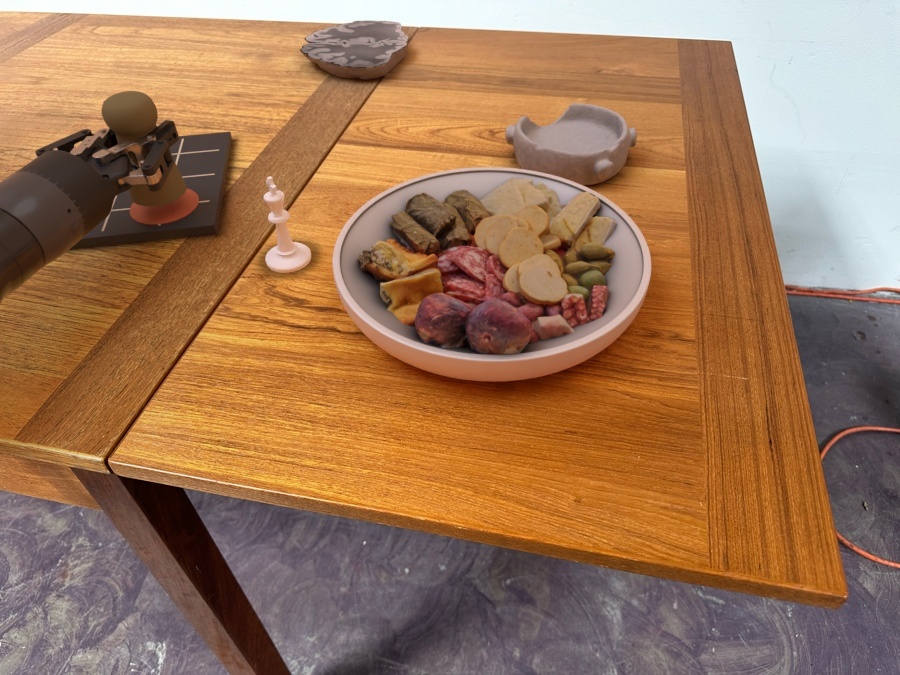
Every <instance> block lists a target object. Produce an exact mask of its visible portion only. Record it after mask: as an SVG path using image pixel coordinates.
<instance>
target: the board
mask: <svg viewBox="0 0 900 675" xmlns="http://www.w3.org/2000/svg"><path fill="white" fill-rule="evenodd" d="M232 145H233V137H232V132H231V131H223V132H222V131H221V132H210V133H199V134H187V135H179V140H178V141H177V142H176V143H175V144H173V145H172V146H171V147H170V151H171V154H172V157H173V159H174V161H175V163H176V165H177V167H178V170H179V172H180V174H181V176H182V178H183V180H184V182H185V184H186V186H187V188H186V191H185V193H184V194H183V195H182V196H181V197H180V198H178V199H177V200H175V201H173V202H171V203H167V204H164V205H160V206H141V205H137V204H135V203H134V202H133V201H132V200H131V198H130V193H129V190H127V191H125V192H122V193H120V194H118V195H116V197H115V199H114V202H113V205H112V209H111V212H110V214H109V215H108V217H107V218H105V219H104V220H103V221H102V222H101V223H99V224H98V225H97V226H96V227H95V228H94V229H92V230H91V231H90V232H89V233H88V234H87V235H85V236H84V237H83V238H82V239H81V240H79V241H78V242H77V243H76V244H75V245H74V246H72V247H71V248H70V249H69V250H77V249H88V248H97V247H105V246H106V247H107V246H116V245H126V244H135V243H145V242H146V243H147V242H155V241H163V240H164V241H165V240H174V239H181V238H182V239H183V238H192V237H203V236H212V235H218V232H219V225H220V219H221V212H222V206H223V200H224V195H225V189H226V182H227V176H228V170H229V163H230V159H231V158H230V157H231V151H232Z"/></svg>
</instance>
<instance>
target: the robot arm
mask: <svg viewBox="0 0 900 675" xmlns="http://www.w3.org/2000/svg"><path fill="white" fill-rule="evenodd" d="M179 136H180V134H179V132H178V130H177V126H176V123H175V121H173V120H170V119H165V120H164V121H162V122H160V123H159V125H157V127H156V128H155V129H154V130H152V131H151V132H149V133H148V134H147V135H146V136H144V137H142V138H140V139H138V140H136V141H135V142H132V141H129V140H126V141H124V142H122V143H120V144H118V143H117V139H116V135H115V132H113V131H112V130H111V129H109V128H106V127H105V128H104V127H103V128H100V129H98V130H97V131H96V132H95V133H93V132H92V130H91V129H90V128H85V129H84V128H83V129H80V130H79V131H77V132H74V133H71V134H69V135H67V136H65V137H62V138H61V139H58V140H56V141H54V142H53V141H52V142H51V143H49V144H46V145H44V146H42V147H40V148H38V149H35V151H34V153H35V156H36V158H34V159H33V160H31V161H29V162H28V163H27V164H25V165H24V166H22V167H20V168H19V169H18V170H16V171H15V172H13V173H12V174H11V175H9V176H8V177H6V178H4V179H3V180H1V181H0V304H1V303H2V302H3V300H5V299H6V298H7V297H9V296H10V295H12V294H13V293H14V292H15V291H17V290H18V289H19V288H20V287H22V286H23V285H24V284H25V283H27V282H28V281H30V279H31V278H32V277H33V276H35V275H36V274H37V273H38V272H39V271H41V270H42V269H43V268H44V267H46V266H48V265H49V264H51V263H53V262H54V261H56V260H57V259H59V258H61V257H62V256H63V255H64V254H66V253H67V252H68V251H69V250H71V249H70V248H71V247H72V246H74V245H75V244H76V243H77V242H78V241H79V240H81V239H82V238H83V237H84V236H85V235H87V234H88V233H89V232H90V231H91V230H92V229H94V228H95V227H96V226H97V225H98V224H99V223H101V222H102V221H103V220H104V219H105V218H107V217H108V215H109V214H110V212H111V209H112V205H113V202H114V199H115V197H116V195H118V194H120V193H122V192H125V191H127V190H129V189H130V188H131V187H132V186H133V185H136V184H147V186H148V188H149V191H152V192H155V191H158V190H160V189H161V188H162V186H163V184H164V182H165V180H166V179H167V177H168V175H169V173H170V171H171V169H172V167H173V165H174V160H173V157H172V154H171V151H170V147H171V146H172V145H173V144H175V143H176V142H177V141H178V140H179ZM78 143H80V144H79V145H78V146H75V145H76V144H78ZM144 148H147V151H148V155H147V156H146V157H144V158H143V156H142V153H141V151H142V149H144ZM126 153H128V155H129V157H128V155H127V154H126ZM129 158H130V159H129ZM130 160H131V161H130ZM131 163H132V164H131Z"/></svg>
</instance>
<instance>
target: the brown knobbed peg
mask: <svg viewBox="0 0 900 675" xmlns="http://www.w3.org/2000/svg"><path fill="white" fill-rule="evenodd" d="M101 116H102V119H103V121H104V123H105V124H106V126H107V127H108V129H111V130H112V131H113V132H115V135H116V139H117V143H118V144H120V143H122V142H124V141H126V140H129V141H132V142H135V141H136V140H138V139H140V138H142V137H144V136H146V135H147V134H148V133H149V132H151V131H152V130H154V129H155V128H156V127H157V126H158V124H157V122H158V118H159V117H158V116H159V114H158V109H157V105H156V103H155V102H154V101H153V99H152V98H151V97H150V96H149V95H148V94H146V93H145V92H143V91H137V90H126V91H121V92H117V93H114V94H112V95H110V96H108V97H106V99H105V100H104V101H103V102H102V106H101ZM141 153H142V156H143V158H144V157H146V156H147V155H148V151H147V148H144V149H142V151H141ZM126 154H127V155H128V153H126ZM128 157H129V155H128ZM129 159H130V158H129ZM173 160H174V159H173ZM130 161H131V160H130ZM131 164H132V163H131ZM186 188H187V186H186V184H185V182H184V180H183V178H182V176H181V174H180V172H179V170H178V167H177V165H176V163H175V161H174V165H173V167H172V169H171V171H170V173H169V175H168V177H167V179H166V180H165V182H164V184H163V186H162V188H161V189H160V190H158V191H155V192H152V191H149V188H148V186H147V184H136V185H133V186H132V187H131V188H130V189H129V193H130V198H131V200H132V201H133V202H134V203H135V204H137V205H141V206H160V205H164V204H167V203H171V202H173V201H175V200H177V199H178V198H180V197H181V196H182V195H183V194H184V193H185V191H186Z"/></svg>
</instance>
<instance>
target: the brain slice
mask: <svg viewBox="0 0 900 675" xmlns="http://www.w3.org/2000/svg"><path fill="white" fill-rule="evenodd" d="M409 39H410V38H409V36H408V35H407V34H406V33H405V32H404V31H403V25H402V24H401V22H398V21H397V22H396V21H390V20H354V21H352V22H346V23H340V24H336V25H333V26H328V27H326V28H323V29H320V30H316V31H314V32H312V33H311V34H308V35H305V37H304V41H305V42H306V43H305V44H303V45H302V46H301V48H300V49H299V52H301V54H302V55H303V56H304V57H305V58H306V59H307V60H308V61H310V62H312V63H313V64H317V66H318V67H319V68H320V69H321V70H322V71H325V72H327V73H328V74H330V75H332V76H335V77H337V78H342V79H357V78H358V79H359V80H362V81H369V80H373V79H374V80H375V79H380V78H382V77H386V76H387V75H388V74H389V72H390V71H392V70H393V69H394V68H395V67H397V66H398V65H399V63H400V62H401V61H402V60H403V59H404V58H405V56H406V54H407V49H408V44H409Z"/></svg>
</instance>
